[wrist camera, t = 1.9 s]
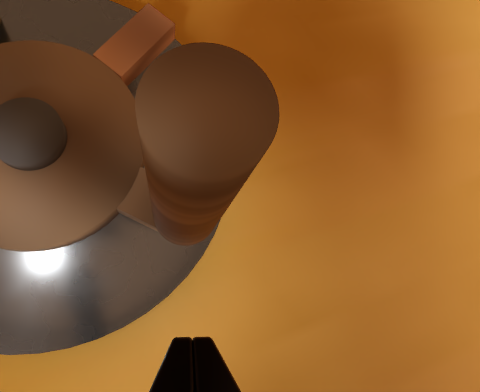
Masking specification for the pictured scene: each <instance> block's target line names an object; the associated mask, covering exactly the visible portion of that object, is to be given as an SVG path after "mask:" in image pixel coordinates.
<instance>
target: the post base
mask: <svg viewBox="0 0 480 392" xmlns="http://www.w3.org/2000/svg"><path fill="white" fill-rule="evenodd" d="M136 14H137V12H135V11H133V10H131V9H129V8H127V7H124V6H122V5H120V4H117V3H115V2H112V1H109V0H0V44H1V43H6V42H13V41H27V40H36V41H48V42H54V43H59V44H64V45H67V46H70V47H74V48H76V49H79V50H81V51H83V52H86V53H88V54H90V55H91V56H93V54H94V53H95V52H96V51H97V50H98V49H99V48H100V47H101V46H102V45H103V44H104V43H106V42H107V41H108V40H109V39H110V38H111V37H112V36H113V35H114V34H115V33H116V32H117V31H118V30H120V29H121V28H122V27H123V26H124V25H125V24H126V23H127V22H128V21H129V20H130V19H131V18H133V17H134V16H135V15H136ZM179 46H182V45H181V44H180V43H179V42H178V41H177V40H176V39H175V40H174V41H173V42H172V43H171V44H170V45H169V46H168V47H167V48H166V49H165V50H164V51H163V52H162V53H161V54H160V55H159V56H158V57H160V56H161V55H162V54H164V53H166V52H167V51H169V50H171V49H173V48H176V47H179ZM158 57H157V58H158ZM157 58H156V59H157ZM156 59H155V60H156ZM155 60H154V61H155ZM154 61H153V62H154ZM153 62H152V63H153ZM152 63H151V64H152ZM151 64H150V65H151ZM150 65H149V66H150ZM149 66H148V67H149ZM148 67H147V68H148ZM147 68H146V69H145V70H144V71H143V72H142V73H141V74H140V75H139V76H138V77H137V78H136V79H135V80H133V81H132V82H131V83H130V84H129V85H128V86H127V87H128V89H129V90H130V92H131V94H132V95H133V97H134V99H135V97H136V91H137V88H138V85H139V82H140V80H141V78H142V76H143V74H144V72H145V71H146V70H147ZM144 169H145V166H144ZM220 219H221V218H220ZM219 222H220V220H219V221H218V223H217V224H216V226H215V227H214V229H213V230H212V232H211V233H210V234H209V236H208V237H207V238H205V239H204V240H203V241H201V242H199V243H197V244H194V245H189V246H182V245H176V244H173V243H171V242H169V241H167V240H166V239H165V238H164V237H163V236H162V235H161V234H160V233H159V232H157V231H155V230H153V229H151V228H149V227H147V226H145V225H143V224H141V223H139V222H137V221H135V220H133V219H131V218H129V217H127V216H125V215H123V214H120V213H119V214H118V215H117V216H116V217H115V218H114V219H113V220H112V221H111V222H110V223H109V224H108V225H106V226H105V227H103V228H102V229H101V230H99V231H98V232H96V233H95V234H93V235H91V236H89V237H87V238H86V239H84V240H82V241H79V242H77V243H74V244H71V245H69V246H65V247H62V248H58V249H54V250H47V251H39V252H19V251H10V250H5V249H0V354H4V355H17V354H36V353H44V352H49V351H55V350H61V349H66V348H70V347H74V346H77V345H80V344H83V343H86V342H90V341H93V340H96V339H98V338H101V337H103V336H105V335H107V334H109V333H112V332H114V331H116V330H118V329H120V328H123V327H124V326H126V325H128V324H129V323H131V322H133V321H134V320H136V319H137V318H139V317H141V316H142V315H144V314H146V313H147V312H149V311H150V310H151V309H152V308H154V307H155V306H156V305H157V304H159V303H160V302H161V301H162V300H164V299H165V298H166V297H167V296H169V294H170V293H171V292H172V291H173V290H174V289H175V288H176V287H177V286H178V285H179V284H180V283H181V282H182V281H183V280H184V279H185V278H186V277H187V276H188V274H189V273H190V272H191V270H192V269H193V268H194V266H195V265H196V264H197V262H198V261H199V260H200V258H201V257H202V256H203V254H204V252H205V250H206V248H207V247H208V245H209V243H210V241H211V240H212V238H213V236H214V234H215V232H216V229H217V227H218V224H219Z"/></svg>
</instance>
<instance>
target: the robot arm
mask: <svg viewBox="0 0 480 392" xmlns="http://www.w3.org/2000/svg"><path fill="white" fill-rule="evenodd" d="M149 392H241V391H240V389H239V387H238V385H237V384H236V382H235V380H234V378H233V376H232V374H231V373H230V371H229V369H228V367H227V365H226V363H225V361H224V360H223V358H222V356H221V354H220V352H219V350H218V349H217V347H216V345H215V343H214V341H213V340H212V338H210V337H195V338H193V340H192V339H191V338H190V337H176V338H174V339H173V340H172V342H171V344H170V346H169V349H168V351H167V353H166V355H165V358H164V360H163V362H162V364H161V366H160V369H159V371H158V373H157V375H156V378H155V380H154V382H153V384H152V387H151V389H150V391H149Z"/></svg>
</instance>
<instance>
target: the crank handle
mask: <svg viewBox="0 0 480 392" xmlns="http://www.w3.org/2000/svg"><path fill="white" fill-rule="evenodd" d="M174 40H175V23H173V22H172V21H171V20H169V19H168V18H167V17H166V16H164V15H163V14H162V13H160V12H159V11H158V10H157V9H155V8H154V7H153V6H152V5H150V4H149V3H148V4H147V5H145V6H144V7H143V8H142V9H141V10H140V11H139V12H138V13H137V14H136V15H135V16H134V17H133V18H131V19H130V20H129V21H128V22H127V23H126V24H125V25H124V26H123V27H122V28H121V29H120V30H118V31H117V32H116V33H115V34H114V35H113V36H112V37H111V38H110V39H109V40H108V41H107V42H106V43H104V44H103V45H102V46H101V47H100V48H99V49H98V50H97V51H96V52H95V53H94V54H93V56H91V55H90V54H88V53H86V52H83V51H81V50H79V49H76V48H74V47H70V46H67V45H64V44H59V43H54V42H48V41H36V40H27V41H13V42H6V43H1V44H0V249H5V250H10V251H19V252H39V251H47V250H54V249H58V248H62V247H65V246H69V245H71V244H74V243H77V242H79V241H82V240H84V239H86V238H87V237H89V236H91V235H93V234H95V233H96V232H98V231H99V230H101V229H102V228H103V227H105V226H106V225H108V224H109V223H110V222H111V221H112V220H113V219H114V218H115V217H116V216H117V215H118V214H119V213H120V214H123V215H125V216H127V217H129V218H131V219H133V220H135V221H137V222H139V223H141V224H143V225H145V226H147V227H149V228H151V229H153V230H155V231H157V232H159V233H160V234H161V235H162V236H163V237H164V238H165V239H166V240H167V241H169V242H171V243H173V244H176V245H182V246H189V245H194V244H197V243H199V242H201V241H203V240H204V239H205V238H207V237H208V236H209V234H210V233H211V232H212V230H213V229H214V227H215V226H216V224H217V223H218V221H219V220H220V218H221V217H222V216H223V214H224V213H225V211H226V210H227V208H228V207H229V205H230V204H231V202H232V201H233V199H234V198H235V196H236V195H237V193H238V192H239V191H240V189H241V188H242V186H243V185H244V183H245V182H246V180H247V179H248V177H249V176H250V174H251V173H252V171H253V170H254V168H255V167H256V166H257V164H258V163H259V161H260V160H261V158H262V157H263V155H264V154H265V152H266V151H267V149H268V148H269V146H270V145H271V143H272V141H273V139H274V137H275V134H276V132H277V128H278V123H279V104H278V99H277V95H276V92H275V89H274V87H273V85H272V83H271V81H270V80H269V78H268V77H267V75H266V74H265V73H264V71H263V70H262V69H261V68H260V67H259V66H258V65H257V64H256V63H255V62H254V61H253V60H251V59H250V58H249V57H247V56H246V55H244V54H242V53H241V52H239V51H237V50H234V49H232V48H230V47H227V46H223V45H219V44H214V43H191V44H186V45H182V46H179V47H176V48H173V49H171V50H169V51H167V52H166V53H164V54H162V55H161V56H160V57H158V56H159V55H160V54H161V53H162V52H163V51H164V50H165V49H166V48H167V47H168V46H169V45H170V44H171V43H172V42H173V41H174ZM157 57H158V58H157ZM156 58H157V59H156ZM155 59H156V60H155ZM154 60H155V61H154ZM153 61H154V62H153ZM152 62H153V63H152ZM151 63H152V64H151ZM150 64H151V65H150ZM149 65H150V66H149ZM148 66H149V67H148ZM147 67H148V68H147ZM146 68H147V70H146V71H145V72H144V74H143V76H142V78H141V80H140V82H139V85H138V88H137V91H136V97H135V99H134V97H133V95H132V94H131V92H130V90H129V89H128V87H127V86H128V85H129V84H130V83H131V82H132V81H133V80H135V79H136V78H137V77H138V76H139V75H140V74H141V73H142V72H143V71H144V70H145V69H146ZM144 166H145V169H144Z"/></svg>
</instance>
